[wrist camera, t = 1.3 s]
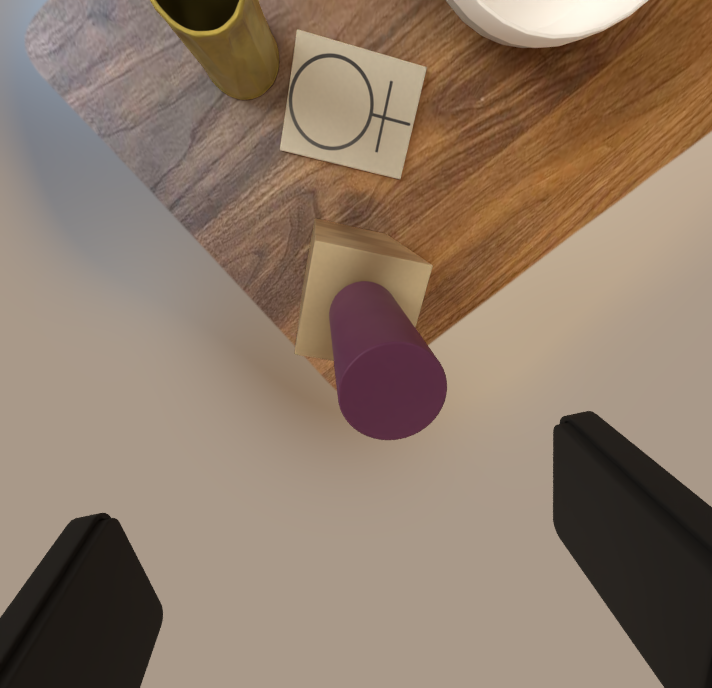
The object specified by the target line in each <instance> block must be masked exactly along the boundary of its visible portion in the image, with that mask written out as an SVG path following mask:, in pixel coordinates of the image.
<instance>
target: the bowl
mask: <svg viewBox="0 0 712 688" xmlns="http://www.w3.org/2000/svg"><path fill="white" fill-rule="evenodd" d="M446 1H447V3H448V4H449V6H450V7H451V8H452V9H453V10H454V11H455V13H456V14H457V15H458V16H459V17H460V18H461V20H462V21H463V22H464V23H465V24H467V25H468V26H469V27H471V28H472V29H473V30H475V31H476V32H477V33H479V34H480V35H481V36H483V37H486V38H488V39H490V40H492V41H495V42H497V43H499V44H502V45H507V46H513V47H519V48H542V47H556V46H561V45H565V44H568V43H571V42H574V41H577V40H580V39H584V38H586V37H589V36H591V35H594V34H596V33H599V32H601V31H604V30H606V29H607V28H609V27H611V26H613V25H615V24H616V23H618V22H620V21H622V20H623V19H625V18H627V17H629V16H630V15H631V14H633V13H634V12H635V11H636V10H637V9H639V8H640V7H641V6H642V5H643V4H645V3H646V2H647V1H648V0H446Z"/></svg>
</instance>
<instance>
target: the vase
mask: <svg viewBox="0 0 712 688" xmlns="http://www.w3.org/2000/svg"><path fill="white" fill-rule="evenodd" d="M150 1H151V3H152V4H153V6H154V8H155V10H156V11H157V12H158V13H159V14H160V15H161V16H162V17H163V18H164V19H165V21H166V22H167V23H168V24H169V26H170V27H171V28H172V30H173V31H174V32H175V33H176V34H177V36H178V37H179V38H180V39H181V41H182V42H183V43H184V44H185V46H186V47H187V48H188V49H189V50H190V52H191V53H192V54H193V56H194V57H195V58H196V59H197V60H198V62H199V63H200V64H201V65H202V67H203V68H204V70H205V71H206V72H207V73H208V75H209V77H210V79H211V80H212V82H213V83H214V84H215V85H216V86H217V87H218V88H219V89H220V90H221V91H222V92H224V93H225V94H227V95H229V96H231V97H233V98H236V99H241V100H248V99H253V98H257V97H259V96H261V95H262V94H264V93H265V92H266V91H267V90H268V89H269V88H270V87H271V86H272V84H273V83H274V81H275V78H276V76H277V73H278V69H279V52H278V47H277V43H276V41H275V39H274V37H273V35H272V33H271V31H270V29H269V26H268V24H267V21H266V19H265V17H264V15H263V12H262V10H261V7H260V4H259V1H258V0H150Z"/></svg>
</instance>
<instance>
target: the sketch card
mask: <svg viewBox="0 0 712 688" xmlns="http://www.w3.org/2000/svg"><path fill="white" fill-rule="evenodd" d="M426 69H427V67H424V66H421V65H418V64H414V63H411V62H407V61H404V60H401V59H397V58H394V57H390V56H387V55H383V54H380V53H377V52H373V51H370V50H366V49H363V48H360V47H356V46H353V45H349V44H346V43H343V42H339V41H336V40H332V39H329V38H325V37H322V36H319V35H315V34H312V33H308V32H305V31H302V30H297V34H296V41H295V48H294V55H293V62H292V69H291V76H290V83H289V90H288V97H287V104H286V111H285V118H284V125H283V132H282V139H281V146H280V150H281V151H285V152H289V153H293V154H297V155H301V156H305V157H309V158H313V159H317V160H321V161H326V162H330V163H334V164H338V165H342V166H346V167H350V168H354V169H358V170H362V171H367V172H371V173H375V174H379V175H383V176H387V177H391V178H395V179H401V175H402V170H403V166H404V162H405V158H406V154H407V149H408V145H409V141H410V137H411V133H412V128H413V124H414V120H415V116H416V112H417V107H418V103H419V99H420V95H421V90H422V86H423V82H424V78H425V74H426Z"/></svg>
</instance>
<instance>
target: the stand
mask: <svg viewBox="0 0 712 688" xmlns="http://www.w3.org/2000/svg"><path fill="white" fill-rule="evenodd" d="M432 267H433V265H431V264H430V263H428V262H427V261H425V260H424V259H423V258H421V257H420V256H418V255H417V254H415V253H414V252H412V251H411V250H409V249H408V248H406V247H405V246H403V245H402V244H400V243H399V242H397V241H396V240H394V239H393V238H391V237H390V236H388V235H387V234H385V233H380V232H376V231H371V230H366V229H362V228H357V227H353V226H348V225H344V224H339V223H335V222H330V221H326V220H321V219H317V218H315V220H314V226H313V231H312V237H311V242H310V248H309V254H308V259H307V265H306V270H305V276H304V282H303V287H302V295H301V303H300V311H299V319H298V328H297V336H296V344H295V354H296V355H302V356H308V357H314V358H320V359H326V360H332V361H334V357H333V348H332V339H331V330H330V321H329V311H330V306H331V303H332V301H333V299H334V298H335V296H336V295H337V294H338V292H340V291H341V290H342V289H343V288H344V287H346V286H348V285H350V284H352V283H355V282H361V281H369V282H374V283H377V284H379V285H381V286H383V287H384V288H386V289H387V290H388V291H389V292H390V293H391V294H392V296H393V297H394V299H395V300H396V301H397V303H398V304H399V306H400V307H401V308H402V310H403V311H404V313H405V314H406V316H407V317H408V318H409V320H410V321H411V323H412V324H413V325H414V327H416V324H417V320H418V317H419V313H420V310H421V306H422V302H423V299H424V295H425V292H426V288H427V285H428V281H429V277H430V274H431V270H432Z"/></svg>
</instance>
